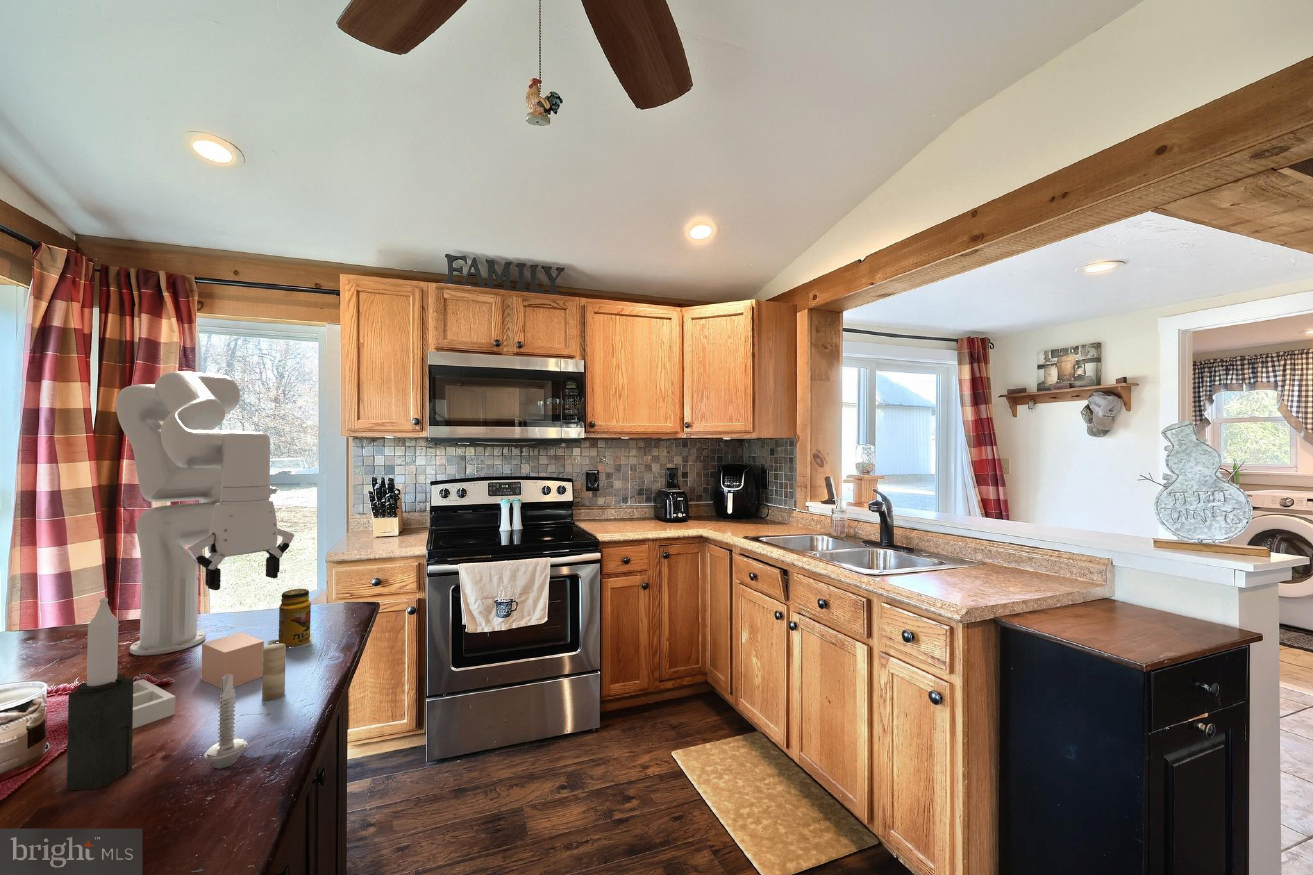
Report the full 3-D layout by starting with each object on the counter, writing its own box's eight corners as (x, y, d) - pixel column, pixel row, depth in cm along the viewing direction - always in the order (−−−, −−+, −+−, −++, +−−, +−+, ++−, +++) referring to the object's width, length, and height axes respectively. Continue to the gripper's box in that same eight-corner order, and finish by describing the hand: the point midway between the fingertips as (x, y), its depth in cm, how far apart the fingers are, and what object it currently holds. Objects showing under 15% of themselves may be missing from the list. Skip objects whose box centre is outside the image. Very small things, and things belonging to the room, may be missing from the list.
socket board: (88, 712, 90) (88, 695, 90) (142, 695, 96) (143, 679, 96) (118, 733, 84) (119, 714, 84) (174, 713, 90) (175, 696, 90)
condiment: (311, 645, 120) (312, 592, 120) (265, 653, 116) (266, 598, 116) (311, 635, 126) (312, 585, 126) (268, 642, 122) (269, 590, 122)
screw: (253, 752, 79) (233, 772, 74) (218, 754, 79) (195, 775, 74) (255, 665, 79) (235, 680, 75) (220, 667, 79) (197, 682, 74)
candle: (98, 767, 75) (101, 592, 75) (136, 765, 76) (140, 592, 76) (60, 790, 70) (64, 603, 70) (102, 789, 71) (106, 603, 71)
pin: (258, 697, 96) (259, 648, 96) (278, 690, 99) (279, 642, 99) (268, 702, 94) (269, 652, 94) (288, 694, 97) (289, 645, 97)
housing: (201, 679, 103) (202, 643, 103) (240, 666, 108) (240, 632, 108) (224, 689, 98) (224, 652, 99) (263, 676, 104) (263, 641, 104)
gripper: (283, 490, 112) (282, 571, 112) (180, 497, 96) (178, 591, 96) (303, 492, 108) (302, 575, 108) (199, 500, 93) (198, 597, 93)
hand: (244, 583), depth 102 cm, fingers open, 9 cm apart
